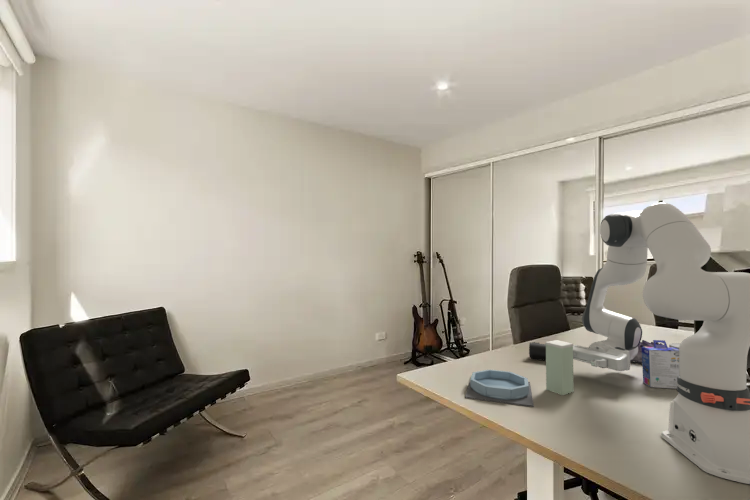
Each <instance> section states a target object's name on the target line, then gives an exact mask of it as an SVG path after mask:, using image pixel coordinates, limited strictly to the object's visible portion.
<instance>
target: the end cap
mask: <svg viewBox="0 0 750 500" xmlns="http://www.w3.org/2000/svg"><path fill="white" fill-rule="evenodd" d="M528 351H529V352H528V354H529V358H530V359H531V360H535V361H545V362H546V345H545V343H540V342H536V341H534V342H529V348H528Z"/></svg>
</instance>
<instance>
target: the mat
mask: <svg viewBox="0 0 750 500" xmlns="http://www.w3.org/2000/svg"><path fill="white" fill-rule="evenodd" d="M528 385H529V394H528V395H527V396H526V397H524V398H521V399H515V400H502V399H494V398H490V397H486V396H483V395H480V394H478V393H476V392H475V391H474V390H473V389H472V388H471V378H470V379H469V383H468V386H467V390H466V392H465V394H464V395H465V396H464V398H465V399H470V400H478V401H485V402H493V403H499V404H506V405H507V404H508V405H514V406H522V407H531V408H534V407H535V405H534V399H533V392H532V387H531V386H532V385H531V381H528Z"/></svg>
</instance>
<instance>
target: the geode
mask: <svg viewBox="0 0 750 500" xmlns="http://www.w3.org/2000/svg"><path fill="white" fill-rule="evenodd" d="M656 344H657V345H664V343H661V342H658V343H656ZM642 347H654V343H653V341H651V342H649V341H647V340H644V339H641V341H640V344H639V345H638V353H637V355H636V356H635V357H634V358H633V359H632V360H630V362H631V363H632V362H633V363H637V364H641V365H642Z"/></svg>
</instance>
